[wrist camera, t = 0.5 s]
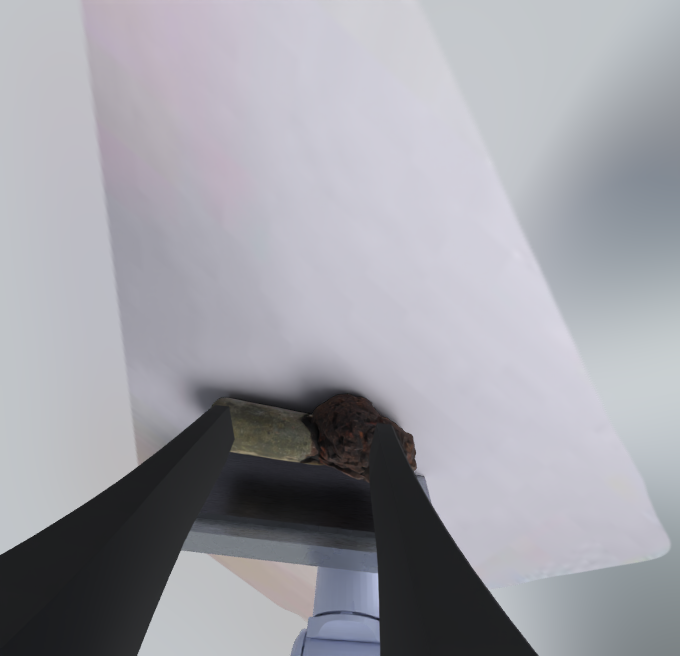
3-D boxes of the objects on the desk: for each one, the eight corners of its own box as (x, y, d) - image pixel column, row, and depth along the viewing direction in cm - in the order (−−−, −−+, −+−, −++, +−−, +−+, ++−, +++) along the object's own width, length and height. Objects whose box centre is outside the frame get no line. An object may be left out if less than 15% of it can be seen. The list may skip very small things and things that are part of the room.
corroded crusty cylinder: (230, 421, 24) (197, 476, 19) (225, 367, 21) (184, 417, 16) (401, 446, 24) (413, 507, 19) (420, 397, 21) (439, 454, 16)
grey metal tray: (415, 497, 28) (432, 579, 22) (214, 473, 28) (174, 549, 22) (426, 471, 26) (449, 555, 20) (207, 446, 26) (160, 522, 20)
